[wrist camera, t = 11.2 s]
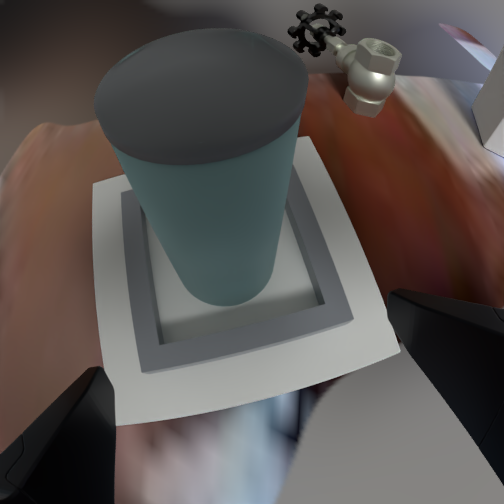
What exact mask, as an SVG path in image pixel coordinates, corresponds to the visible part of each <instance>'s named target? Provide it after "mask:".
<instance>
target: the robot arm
mask: <svg viewBox="0 0 504 504" xmlns="http://www.w3.org/2000/svg"><path fill="white" fill-rule="evenodd" d="M387 317H388V320H389V322H390V324H391V325H392V327H393V328H394V330H395V332H396V333H397V335H398V336H399V338H400V340H401V341H402V343H403V344H404V346H405V348H406V349H407V351H408V352H409V354H410V355H411V356H412V358H413V359H414V360H415V362H416V363H417V364H418V366H419V367H420V368H421V370H422V371H423V372H424V373H425V375H426V376H427V377H428V378H429V380H430V381H431V383H432V384H433V385H434V387H435V388H436V389H437V391H438V392H439V393H440V394H441V396H442V397H443V399H444V400H445V401H446V403H447V404H448V405H449V407H450V408H451V409H452V411H453V412H454V414H455V415H456V416H457V418H458V419H459V421H460V422H461V423H462V425H463V426H464V428H465V429H466V430H467V431H468V433H469V434H470V436H471V437H472V439H473V440H474V442H475V443H476V445H477V446H478V447H479V449H480V451H481V452H482V454H483V455H484V457H485V458H486V460H487V461H488V463H489V464H490V466H491V467H492V468H493V470H494V472H495V473H496V475H497V476H498V478H499V479H500V481H501V482H502V484H503V485H504V309H500V308H495V307H493V308H492V307H490V306H485V305H480V304H475V303H470V302H465V301H460V300H455V299H450V298H445V297H441V296H436V295H431V294H426V293H421V292H416V291H411V290H406V289H402V288H398V289H396V290H393V291H390V292H389V293H388V297H387ZM115 449H116V417H115V391H114V387H113V385H112V383H111V382H110V380H109V378H108V376H107V374H106V373H105V371H104V369H103V368H102V367H101V366H96V367H90V368H88V369H87V370H86V371H85V372H84V373H83V374H82V375H81V376H80V377H79V378H78V379H77V380H76V381H74V382H73V383H72V384H71V385H70V386H69V387H68V388H67V389H66V390H65V391H64V392H63V393H62V394H61V395H60V396H59V397H58V398H57V399H56V400H55V401H54V402H53V403H52V404H51V405H50V406H49V407H48V408H47V409H46V410H45V411H44V412H43V413H42V414H41V415H40V416H39V417H38V418H37V419H36V420H35V421H34V422H33V423H32V424H31V425H30V426H29V427H28V428H27V429H26V430H25V431H24V432H23V434H21V435H20V436H19V437H18V438H17V439H16V440H15V441H14V442H13V443H12V444H11V445H10V446H8V447H7V448H6V449H5V450H4V451H3V452H2V453H1V454H0V504H114V480H115Z"/></svg>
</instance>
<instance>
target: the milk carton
mask: <svg viewBox="0 0 504 504" xmlns="http://www.w3.org/2000/svg"><path fill="white" fill-rule="evenodd" d="M471 108H472V111H473V114H474V117H475V120H476V123H477V126H478V129H479V132H480V136H481V139H482V142H483V146H484V147H485V148H486V149H488V150H490V151H492V152H494V153H496V154H498V155H500V156H502V157H504V46H503V48H502V50H501V52H500V54H499V56H498V58H497V60H496V62H495V64H494V66H493V68H492V70H491V72H490V74H489V76H488V77H487V79H486V81H485V83H484V85H483V87H482V88H481V90H480V92H479V94H478V96H477V97H476V99H475V101H474V103H473V104H472V106H471Z"/></svg>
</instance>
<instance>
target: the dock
mask: <svg viewBox="0 0 504 504" xmlns="http://www.w3.org/2000/svg"><path fill="white" fill-rule="evenodd" d="M92 244H93V270H94V286H95V298H96V309H97V319H98V328H99V336H100V344H101V351H102V357H103V364H104V370H105V373H106V374H107V376H108V378H109V380H110V382H111V383H112V385H113V387H114V391H115V417H116V426H120V425H130V424H138V423H146V422H153V421H160V420H167V419H173V418H179V417H185V416H191V415H196V414H201V413H206V412H211V411H216V410H221V409H225V408H230V407H234V406H239V405H243V404H247V403H251V402H255V401H259V400H263V399H266V398H270V397H274V396H277V395H281V394H284V393H288V392H291V391H295V390H298V389H301V388H305V387H308V386H311V385H314V384H317V383H320V382H323V381H326V380H329V379H332V378H335V377H338V376H341V375H344V374H346V373H349V372H352V371H355V370H357V369H360V368H362V367H365V366H368V365H370V364H373V363H375V362H378V361H380V360H383V359H385V358H388V357H390V356H393V355H395V354H397V353H400V352H401V351H400V348H399V345H398V342H397V339H396V336H395V333H394V330H393V327H392V325H391V324H390V322H389V320H388V317H387V310H386V308H385V305H384V302H383V299H382V297H381V294H380V291H379V289H378V286H377V284H376V281H375V279H374V276H373V273H372V271H371V268H370V266H369V263H368V261H367V259H366V256H365V254H364V251H363V249H362V247H361V244H360V242H359V240H358V237H357V235H356V233H355V230H354V228H353V226H352V223H351V221H350V219H349V217H348V215H347V212H346V210H345V208H344V206H343V204H342V201H341V199H340V197H339V195H338V193H337V191H336V189H335V187H334V185H333V183H332V180H331V178H330V176H329V174H328V172H327V170H326V168H325V166H324V164H323V162H322V160H321V158H320V156H319V154H318V152H317V151H316V149H315V147H314V145H313V143H312V141H311V139H310V137H309V136H306V137H299V138H297V141H296V147H295V153H294V158H293V164H292V170H291V176H290V181H289V187H288V193H287V198H286V204H285V209H284V215H283V220H282V226H281V231H280V236H279V242H278V247H277V252H276V258H275V263H274V268H273V272H272V275H271V278H270V280H269V282H268V283H267V285H266V286H265V288H264V289H263V290H262V291H261V292H260V293H259V294H258V295H257V296H255V297H254V298H252V299H251V300H249V301H247V302H245V303H242V304H239V305H235V306H226V307H222V306H214V305H210V304H207V303H204V302H202V301H200V300H198V299H197V298H196V297H194V296H193V295H192V294H191V293H190V292H189V291H188V290H187V289H186V288H185V286H184V285H183V283H182V281H181V280H180V278H179V276H178V274H177V272H176V271H175V269H174V267H173V265H172V264H171V262H170V260H169V258H168V256H167V254H166V253H165V251H164V249H163V247H162V245H161V243H160V241H159V240H158V238H157V236H156V234H155V232H154V230H153V228H152V226H151V224H150V222H149V221H148V219H147V217H146V215H145V213H144V211H143V209H142V207H141V205H140V203H139V201H138V199H137V197H136V195H135V193H134V191H133V189H132V187H131V185H130V183H129V181H128V179H127V177H126V175H125V174H123V175H120V176H117V177H113V178H110V179H106V180H103V181H100V182H96V183H93V198H92Z"/></svg>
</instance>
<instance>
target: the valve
mask: <svg viewBox="0 0 504 504" xmlns="http://www.w3.org/2000/svg"><path fill="white" fill-rule="evenodd" d="M314 10H315V12H314V13H313V14H310V15H309V14H308V13H307V12H305V11H303V10H300V11H298V12H297V14H296V17H297V18H298V19H299V20H300V21H301V23H300V25H299V26H298V27H294V26H292V27H290V28H289V29H288V34H289V35H290V36H291V37H292V38H296V36H298V38H299V40H298V41H296V42H295V43H294V44H293V47H294V49H295V50H296V51H297V52H299V53H303V52H304V50H303V48H304V47H305V46H307V47H309V49H308V52H309V53H310V54H311V55H312V56H313V57H318V56H320V54H321V52H320V51H324V50H325V49H326V48H327V49H328V50H329V51H330V52H331V53H332V54H333V55H335V56H336V64H337V66H338V67H339V68H340V69H341V70H342V71H343V72H344V73H346V74H348V83H349V86H348V87H347V88H346V91H345V95H344V99H343V101H344V102H345V103H346V104H347V106H348V107H349V108H350V109H351V110H352V111H353V112H354V113H356V114H359V115H364V116H368V117H374V118H375V117H376V116H377V114H378V113H379V112H380V111H381V110H382V108H383V106H384V103H385V100H386V98H387V97H388V96H389V95H390V94H391V93H392V91H393V89H394V86H395V73H394V72H395V70H397V68H398V65H399V62H400V60H401V57H402V55H401V53H400V52H399V51H398V50H397V49H396V48H395V47H393V46H392V45H390V44H388V43H386V42H384V41H381V40H378V39H373V38H365V39H362V40H361V41H360V42H359V43H358V45H354V44H350V45H347V44H346V43H345V42H344V41H342V40H341V39H339V38H338V37H336V34H339V35H340V36H343V35H344V34H345V33H346V29H345V28H343V27H342V26H341V25H339V24H338V23H337V22H335V21H336V20H337V19H339V20H342V18H343V15H342V14H341V13H340V12H338V11H337V10H332V11H331V12H330V13H329V14H325V11H328V8H327V7H325V6H324V5H323V4H316V5H315V7H314ZM320 18H321V19H326V20H328V22H329V25H330V29H329V28H327V27H326V26H322V25H320V24H315V25H313V26H311V25H309V23H310V22H312V21H314V20H316V19H320ZM305 29H307V30H309V31H310V34H311V35H312V36H313V38H314V39H315V40H316V41H317V42H308V41H307V40H306V38H305Z"/></svg>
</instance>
